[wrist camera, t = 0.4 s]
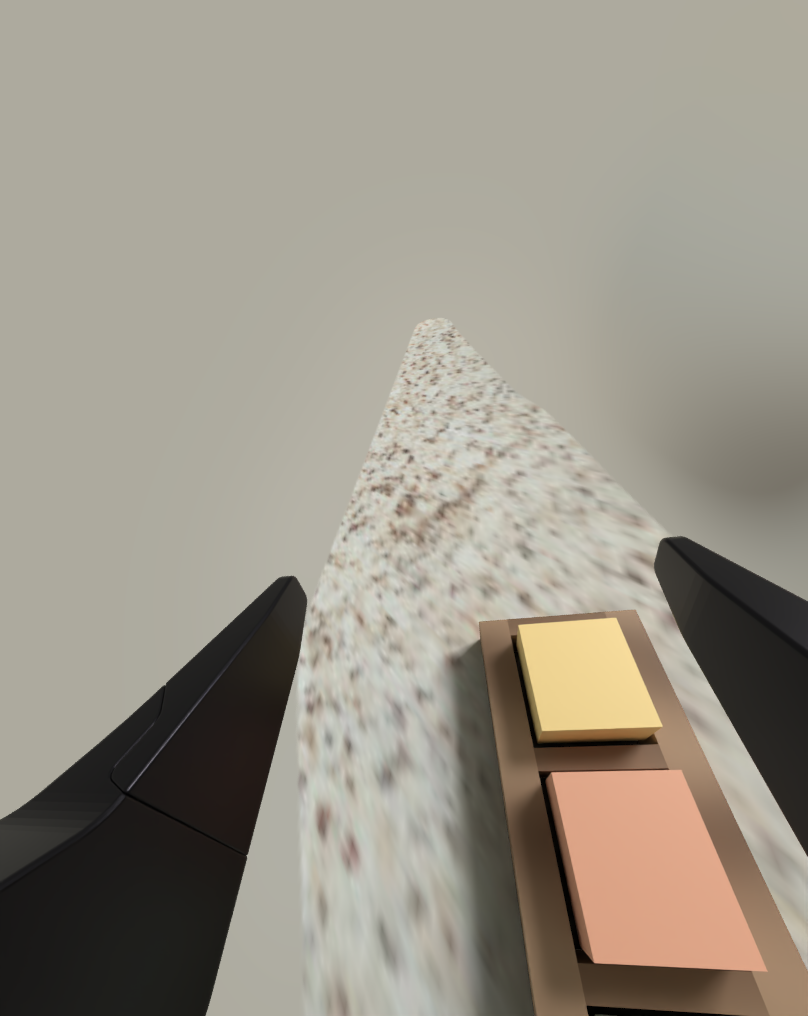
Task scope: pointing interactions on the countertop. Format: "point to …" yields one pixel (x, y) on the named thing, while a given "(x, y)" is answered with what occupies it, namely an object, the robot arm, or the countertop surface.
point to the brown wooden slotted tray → (546, 930)
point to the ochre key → (584, 683)
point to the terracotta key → (646, 873)
